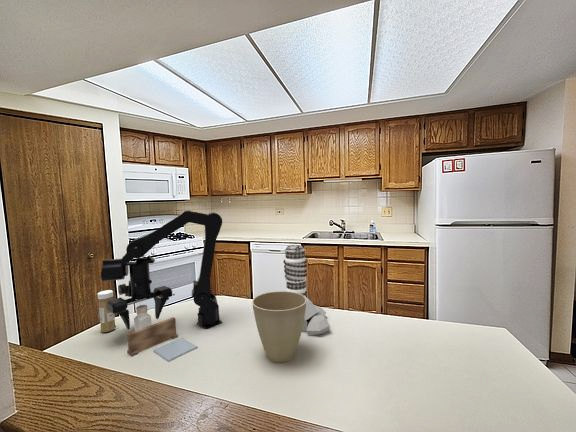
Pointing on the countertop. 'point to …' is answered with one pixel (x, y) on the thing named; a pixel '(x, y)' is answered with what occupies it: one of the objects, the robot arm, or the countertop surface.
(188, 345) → the slate coaster
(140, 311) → the pepper shaker
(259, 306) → the plant pot
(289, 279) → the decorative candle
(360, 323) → the countertop surface
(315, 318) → the rock
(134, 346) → the walnut screen
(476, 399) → the countertop surface
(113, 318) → the spice jar
